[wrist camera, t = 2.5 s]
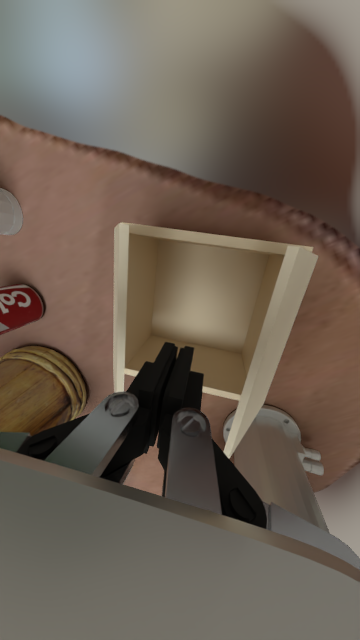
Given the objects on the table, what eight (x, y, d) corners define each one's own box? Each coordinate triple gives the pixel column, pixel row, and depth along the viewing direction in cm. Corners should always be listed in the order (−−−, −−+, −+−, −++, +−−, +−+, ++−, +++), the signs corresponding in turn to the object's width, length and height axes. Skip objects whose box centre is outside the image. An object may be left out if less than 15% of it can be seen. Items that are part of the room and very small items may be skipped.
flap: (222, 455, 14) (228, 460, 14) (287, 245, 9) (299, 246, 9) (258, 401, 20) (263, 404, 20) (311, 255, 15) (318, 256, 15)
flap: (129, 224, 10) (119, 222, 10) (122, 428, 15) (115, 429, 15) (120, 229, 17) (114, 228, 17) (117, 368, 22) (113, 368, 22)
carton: (276, 248, 24) (313, 247, 15) (244, 357, 30) (257, 405, 21) (155, 232, 26) (120, 222, 17) (147, 337, 32) (118, 372, 23)
